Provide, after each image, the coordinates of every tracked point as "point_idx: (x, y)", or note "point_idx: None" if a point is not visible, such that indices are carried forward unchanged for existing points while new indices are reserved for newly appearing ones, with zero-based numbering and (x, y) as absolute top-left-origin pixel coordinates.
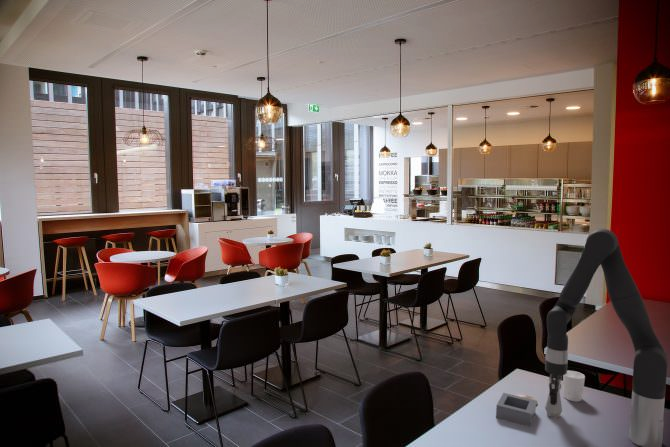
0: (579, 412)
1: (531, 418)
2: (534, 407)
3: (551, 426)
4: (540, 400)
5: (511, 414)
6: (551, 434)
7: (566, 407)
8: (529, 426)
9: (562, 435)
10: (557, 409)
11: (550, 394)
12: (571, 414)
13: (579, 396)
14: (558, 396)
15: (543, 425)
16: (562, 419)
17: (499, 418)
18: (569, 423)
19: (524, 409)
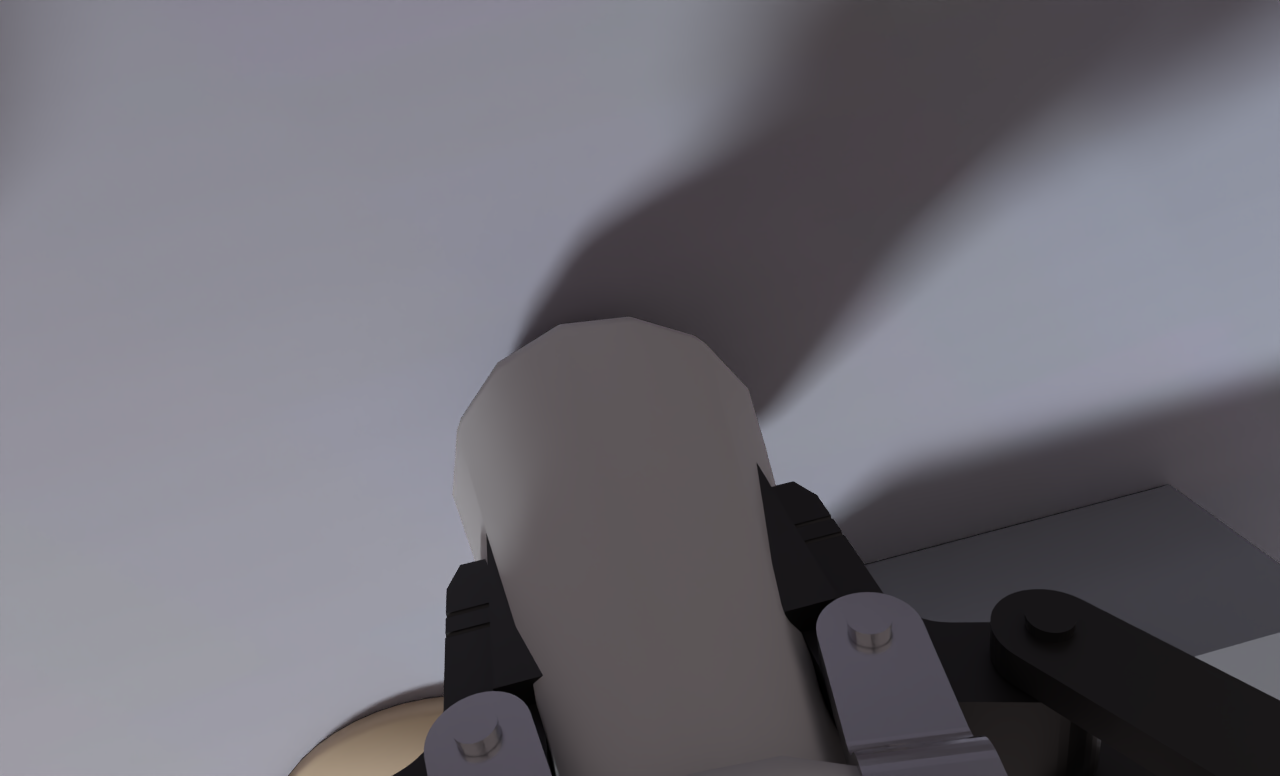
0: (11, 68)
1: (1154, 556)
2: None
3: (1009, 287)
4: (207, 732)
5: None
6: (1260, 199)
7: (42, 356)
8: (1170, 493)
9: (1225, 50)
10: (732, 396)
11: (1105, 752)
12: (284, 177)
13: None
14: (742, 588)
15: (1039, 382)
16: (643, 239)
17: None
18: (717, 87)
19: None
